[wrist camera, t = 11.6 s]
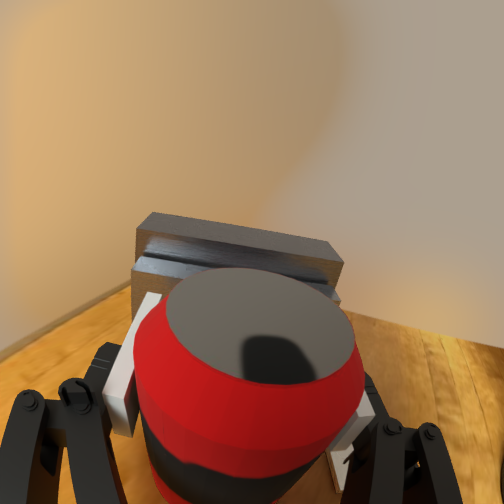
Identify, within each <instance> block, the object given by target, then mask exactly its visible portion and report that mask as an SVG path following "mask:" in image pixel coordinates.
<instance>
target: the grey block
mask: <svg viewBox="0 0 504 504" xmlns="http://www.w3.org/2000/svg"><path fill="white" fill-rule="evenodd" d="M211 269H215V268H209V267H203V266H197V265H191V264H185V263H179V262H173V261H167V260H161V259H155V258H149V257H143V256H140V258H139V259H138V260H137V262H136V263H135V265H134V266H133V268H132V269H131V307H132V323H133V320H134V318H135V316H136V314H137V312H138V310H139V308H140V306H141V304H142V302H143V300H144V298H145V296H146V294H147V292H151V293H157V294H162V300H163V299H164V298H165V297H166V296H167V295H168V294H170V292H171V291H172V289H173V288H174V287H175V286H176V285H177V284H178V283H179V282H181V281H182V280H184V279H185V278H187V277H189V276H191V275H193V274H196V273H199V272H203V271H206V270H211ZM299 282H302V281H299ZM302 283H304V284H307V285H308V286H310V287H312V288H314V289H316V290H318V291H319V292H321V293H322V294H324V295H325V296H327V297H328V298H330V299H331V300H332V301H333V302H334V303H335V304H336V305H338V306H339V305H340V302H341V300H340V298H339V297H338V295H337V293H336V291H335V290H334V288H333V286H331V285H324V284H316V283H309V282H302Z"/></svg>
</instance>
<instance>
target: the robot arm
mask: <svg viewBox="0 0 504 504" xmlns="http://www.w3.org/2000/svg"><path fill="white" fill-rule="evenodd" d="M160 301H162V294H157V293H151V292H147V294H146V296H145V298H144V300H143V302H142V304H141V306H140V308H139V310H138V312H137V314H136V316H135V318H134V320H133V323H132V325H131V327H130V329H129V331H128V333H127V336H126V338H125V340H124V342H123V344H122V345H117V344H113V343H109V342H106V343H105V344H104V345H102V346H101V347H100V348H99V349H98V351H97V353H96V355H95V356H94V359H93V360H92V362H91V366H89V368H88V370H87V372H86V375H85V377H84V379H82V378H71V379H68V380H66V381H64V382H63V383H62V384H61V385H60V386H59V390H58V394H59V396H60V399H61V400H50V399H44V397H43V396H42V395H41V394H40V393H39V392H37V391H35V390H30V389H28V390H24V391H22V392H20V393H19V394H18V395H17V397H16V398H15V401H14V404H13V407H12V410H11V413H10V416H9V419H8V422H7V425H6V429H5V432H4V435H3V439H2V443H1V447H0V504H58V490H59V480H60V471H61V463H62V456H63V449H64V447H67V450H68V458H69V465H70V472H71V477H72V483H73V488H74V493H75V498H76V502H77V504H128V503H127V500H126V496H125V493H124V490H123V487H122V483H121V480H120V476H119V472H118V469H117V465H116V461H115V457H114V452H113V448H112V443H111V439H110V437H109V436H110V432H111V429H112V428H113V431H114V433H115V434H119V435H123V436H126V437H130V438H132V437H133V433H134V429H135V425H136V421H137V417H138V414H139V410H140V408H139V401H138V394H137V387H136V378H135V369H134V360H133V346H134V338H135V334H136V332H137V329H138V327H139V325H140V323H141V321H142V320H143V319H144V317H145V316H146V315H147V314H148V313H149V311H150V310H151V309H152V308H154V307H155V306H156V305H157V304H158V303H159V302H160ZM364 373H365V387H364V393H363V396H362V399H361V402H360V404H359V407H358V408H357V409H356V411H355V412H354V414H353V415H352V416H351V418H350V419H349V420H348V422H347V423H346V424H345V426H344V427H343V428H342V430H341V431H340V432H339V434H338V435H337V436H336V437H335V439H334V440H333V441H332V442H331V444H330V445H329V449H330V452H334V451H343V450H346V449H347V448H348V447H349V446H350V445H351V444H352V445H353V448H354V450H353V451H352V453H351V454H350V455H349V456H348V457H347V458H346V459H345V460H344V462H343V464H346V463H347V462H348V461H349V464H348V470H347V475H346V480H345V485H344V489H343V494H342V498H341V503H340V504H463V502H462V498H461V494H460V490H459V486H458V483H457V479H456V476H455V472H454V469H453V466H452V463H451V459H450V456H449V453H448V450H447V447H446V444H445V441H444V439H443V436H442V433H441V431H440V429H439V428H438V427H437V426H436V425H435V424H433V423H428V422H426V423H423V424H422V425H421V426H420V427H419V428H418V429H413V428H405V427H403V426H402V424H401V423H400V422H399V421H398V420H396V419H394V418H391V417H389V415H388V413H387V411H386V409H385V406H384V404H383V402H382V400H381V398H380V396H379V394H378V392H377V389H376V388H375V385H374V383H373V381H372V379H371V377H370V376H369V375H368V374H367V373H366V372H365V371H364ZM418 461H419V464H420V467H418V465H417V462H418ZM502 492H503V499H504V461H503V468H502Z"/></svg>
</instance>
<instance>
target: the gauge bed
mask: <svg viewBox="0 0 504 504" xmlns="http://www.w3.org/2000/svg"><path fill="white" fill-rule="evenodd" d="M135 251H136V252H135V263H136V262H137V260H138V259H139V258H140V256H143V257H149V258H155V259H161V260H167V261H173V262H179V263H185V264H191V265H197V266H203V267H209V268H215V269H219V268H248V269H256V270H262V271H268V272H272V273H276V274H280V275H283V276H286V277H289V278H292V279H295V280H297V281H302V282H309V283H316V284H324V285H331V286H333V288H334V290H335V287H336V284H337V282H338V279H339V276H340V273H341V270H342V267H343V264H344V262H343V260H342V259H341V258H340V257H339V255H338V254H337V253H336V251H335V250H334V249H333V248H332V247H331V245H330V244H329V243H328V242H327V241H322V240H317V239H311V238H306V237H300V236H294V235H289V234H284V233H278V232H272V231H267V230H261V229H255V228H249V227H244V226H238V225H232V224H226V223H219V222H213V221H207V220H201V219H195V218H188V217H182V216H175V215H168V214H162V213H156V212H152V213H151V214H150V215H149V216H148V217H147V218H146V219H145V220H144V221H143V222H142V224H140V225H139V226H138V227H137V229H136V250H135ZM353 450H354V448H353V445H352V444H351V445H350V446H349V447H348V448H347V449H346V450H343V451H334V452H330V449H329V446H328V447H327V448H326V454H327V458H328V462H329V466H330V470H331V474H332V478H333V482H334V486H335V491H336V494H337V493H343V489H344V485H345V480H346V475H347V470H348V464H349V461H348V462H347V463H346V464H343V462H344V460H345V459H346V458H347V457H348V456H349V455H350V454H351V453H352V451H353Z"/></svg>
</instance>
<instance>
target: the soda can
mask: <svg viewBox="0 0 504 504" xmlns="http://www.w3.org/2000/svg"><path fill="white" fill-rule="evenodd" d="M133 360H134V369H135V378H136V387H137V394H138V401H139V408H140V414H141V420H142V426H143V432H144V437H145V442H146V447H147V452H148V456H149V461H150V465H151V469H152V474H153V477H154V480H155V483H156V486H157V488H158V490H159V491H160V493H161V495H162V496H163V497H164V499H165V500H166V501H167V502H168V503H169V504H274V503H275V502H277V501H278V500H279V499H280V498H281V497H282V496H283V495H284V494H285V493H286V492H287V491H288V490H289V489H290V488H291V487H292V486H293V485H294V484H295V483H296V482H297V481H298V480H299V479H300V478H301V477H302V476H303V474H304V473H305V472H306V471H307V470H308V469H309V468H310V467H311V466H312V465H313V463H314V462H315V461H316V460H317V459H318V458H319V457H320V455H321V454H322V453H323V452H324V451H325V450H326V448H327V447H328V446H329V445H330V444H331V442H332V441H333V440H334V439H335V437H336V436H337V435H338V434H339V432H340V431H341V430H342V428H343V427H344V426H345V424H346V423H347V422H348V420H349V419H350V418H351V416H352V415H353V414H354V412H355V411H356V409H357V408H358V407H359V404H360V402H361V399H362V396H363V393H364V387H365V373H364V368H363V364H362V360H361V357H360V354H359V351H358V348H357V345H356V342H355V334H354V330H353V326H352V325H351V323H350V321H349V319H348V317H347V316H346V315H345V313H344V312H343V311H342V310H341V308H340V307H339V306H338V305H336V304H335V303H334V302H333V301H332V300H331V299H330V298H328V297H327V296H325V295H324V294H322V293H321V292H319V291H318V290H316V289H314V288H312V287H310V286H308V285H307V284H304V283H302V282H299V281H297V280H295V279H292V278H289V277H286V276H283V275H280V274H276V273H272V272H268V271H262V270H256V269H248V268H219V269H211V270H206V271H203V272H199V273H196V274H193V275H191V276H189V277H187V278H185V279H184V280H182V281H181V282H179V283H178V284H177V285H176V286H175V287H174V288H173V289H172V291H171V292H170V294H168V295H167V296H166V297H165V298H164V299H163V300H162V301H160V302H159V303H158V304H157V305H156V306H155V307H154V308H152V309H151V310H150V311H149V313H148V314H147V315H146V316H145V317H144V319H143V320H142V321H141V323H140V325H139V327H138V329H137V332H136V334H135V338H134V346H133Z"/></svg>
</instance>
